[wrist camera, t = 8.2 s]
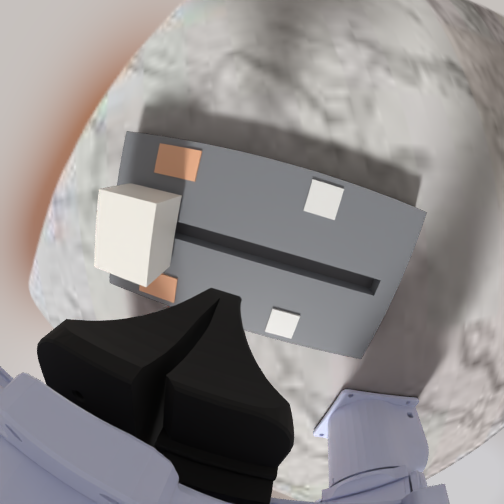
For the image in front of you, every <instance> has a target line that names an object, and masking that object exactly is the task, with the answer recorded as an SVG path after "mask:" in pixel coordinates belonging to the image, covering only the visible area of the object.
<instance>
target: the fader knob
mask: <svg viewBox="0 0 504 504" xmlns="http://www.w3.org/2000/svg"><path fill="white" fill-rule="evenodd" d="M181 197H182V195H178V194H174V193H170V192H166V191H161V190H157V189H153V188H149V187H145V186H140V185H136V184H132V183H128V184H123V185H118V186H112V187H107V188H102V189H99V196H98V206H97V217H96V232H95V259H94V267H96V268H98V269H101V270H103V271H106V272H108V273H111V274H113V275H116V276H118V277H121V278H123V279H126V280H128V281H131V282H134V283H136V284H139V285H142V286H144V287H147V286H148V285H149V284H151V283H152V282H153V281H154V280H155V279H156V278H157V277H158V276H160V275H161V274H162V273H163V272H164V271H165V270H166V269H168V268H169V267H170V262H171V255H172V249H173V242H174V236H175V230H176V224H177V218H178V213H179V207H180V202H181Z"/></svg>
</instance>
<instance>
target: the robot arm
mask: <svg viewBox="0 0 504 504" xmlns="http://www.w3.org/2000/svg"><path fill="white" fill-rule="evenodd" d="M241 301H242V299H241V297H240V296H237V295H234V294H231V293H227V292H224V291H221V290H218V289H214V288H209V289H207V290H205V291H203V292H201V293H200V294H198V295H196V296H194V297H192V298H190V299H188V300H186V301H184V302H182V303H179V304H177V305H174V306H172V307H169V308H167V309H164V310H161V311H158V312H155V313H151V314H147V315H143V316H138V317H132V318H126V319H119V320H106V321H85V320H70V319H66V320H65V321H63V322H62V323H61V324H60V325H58V326H57V327H56V328H55V329H53V330H52V331H51V332H50V333H48V334H47V335H46V336H45V337H43V338H42V339H41V340H40V342H39V343H38V346H37V355H38V360H39V363H40V366H41V370H42V373H43V376H44V378H45V382H46V384H47V385H46V384H44V383H43V382H41V381H40V380H39V379H37V378H35V377H33V376H31V375H29V374H27V373H21V374H19V375H17V376H16V377H15V378H14V379H13V378H12V377H11V376H10V375H9V374H8V373H7V372H6V371H5V370H4V369H2V368H1V367H0V504H449V499H448V495H447V491H446V487H445V484H441V485H435V486H429V487H428V486H427V482H426V479H425V475H424V473H422V472H423V470H424V469H425V467H426V464H427V460H428V453H429V449H428V443H427V440H426V437H425V434H424V431H423V428H422V425H421V422H420V419H419V416H418V413H417V410H416V408H415V406H416V405H417V404H418V403H419V399H418V398H414V397H403V396H394V395H385V394H377V393H370V392H363V391H356V390H350V389H345V390H343V391H342V392H341V393H340V395H339V396H338V398H337V399H336V401H335V402H334V403H333V405H332V406H331V408H330V409H329V411H328V412H327V414H326V415H325V416H324V418H323V419H322V420H321V422H320V423H319V425H318V426H317V427H316V429H315V430H314V431H313V435H314V436H317V437H324V438H328V460H329V488H328V489H324V490H322V499H319V500H317V501H315V502H305V501H294V500H285V499H277V498H271V493H272V487H273V481H274V480H275V479H276V477H277V470H278V466H279V465H280V464H281V462H282V461H283V460H284V459H285V457H286V456H287V455H288V454H289V452H290V451H291V449H292V447H293V445H294V427H293V419H292V413H291V408H290V404H289V403H288V402H287V401H286V400H285V399H284V398H283V397H282V396H281V395H280V394H279V393H278V391H277V390H276V389H275V388H274V387H273V386H272V385H271V384H270V382H269V381H268V380H267V379H266V377H265V375H264V374H263V372H262V371H261V369H260V368H259V366H258V364H257V363H256V361H255V359H254V357H253V355H252V352H251V350H250V348H249V345H248V342H247V339H246V336H245V332H244V329H243V324H242V318H241ZM350 394H351V395H350Z"/></svg>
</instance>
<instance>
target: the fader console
mask: <svg viewBox="0 0 504 504" xmlns="http://www.w3.org/2000/svg"><path fill="white" fill-rule="evenodd" d="M128 183H132V184H136V185H140V186H145V187H149V188H153V189H157V190H161V191H166V192H170V193H174V194H178V195H182V197H181V202H180V207H179V213H178V218H177V224H176V230H175V236H174V242H173V249H172V255H171V262H170V267H169V268H168V269H166V270H165V271H164V272H163V273H162V274H161V275H160V276H158V277H157V278H156V279H155V280H154V281H153V282H152V283H151V284H149V285H148V286H147V287H144V286H142V285H139V284H136V283H134V282H131V281H128V280H126V279H123V278H121V277H118V276H116V275H113V274H111V273H110V283H111V284H114V285H116V286H119V287H121V288H124V289H126V290H129V291H131V292H134V293H136V294H139V295H141V296H144V297H147V298H149V299H152V300H155V301H157V302H160V303H163V304H166V305H168V306H171V307H172V306H174V305H177V304H179V303H182V302H184V301H186V300H188V299H190V298H192V297H194V296H196V295H198V294H200V293H201V292H203V291H205V290H207V289H209V288H214V289H218V290H221V291H224V292H227V293H231V294H234V295H237V296H240V297H241V299H242V301H241V318H242V324H243V329H244V330H245V331H248V332H252V333H255V334H259V335H262V336H266V337H270V338H273V339H277V340H281V341H285V342H288V343H292V344H296V345H300V346H304V347H308V348H312V349H317V350H321V351H325V352H330V353H334V354H339V355H343V356H348V357H353V358H358V359H361V358H362V357H363V355H364V353H365V351H366V350H367V348H368V346H369V344H370V342H371V341H372V339H373V337H374V335H375V333H376V331H377V329H378V328H379V326H380V324H381V322H382V320H383V318H384V316H385V314H386V312H387V310H388V308H389V306H390V303H391V301H392V299H393V297H394V295H395V293H396V291H397V288H398V286H399V284H400V282H401V279H402V277H403V275H404V272H405V270H406V268H407V265H408V263H409V260H410V258H411V255H412V253H413V250H414V247H415V245H416V242H417V239H418V237H419V234H420V231H421V228H422V225H423V222H424V219H425V216H426V213H427V212H425V211H423V210H421V209H418V208H416V207H413V206H411V205H409V204H406V203H404V202H401V201H399V200H396V199H394V198H391V197H388V196H386V195H383V194H380V193H378V192H375V191H372V190H370V189H367V188H364V187H361V186H358V185H356V184H353V183H350V182H347V181H344V180H341V179H338V178H335V177H332V176H329V175H325V174H322V173H319V172H316V171H312V170H309V169H306V168H302V167H299V166H295V165H292V164H288V163H285V162H281V161H277V160H274V159H270V158H266V157H262V156H258V155H254V154H250V153H246V152H241V151H237V150H233V149H228V148H223V147H219V146H214V145H209V144H204V143H199V142H194V141H188V140H183V139H177V138H171V137H165V136H158V135H152V134H145V133H137V132H129V131H127V132H126V137H125V142H124V147H123V152H122V158H121V163H120V169H119V176H118V182H117V186H118V185H123V184H128Z"/></svg>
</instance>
